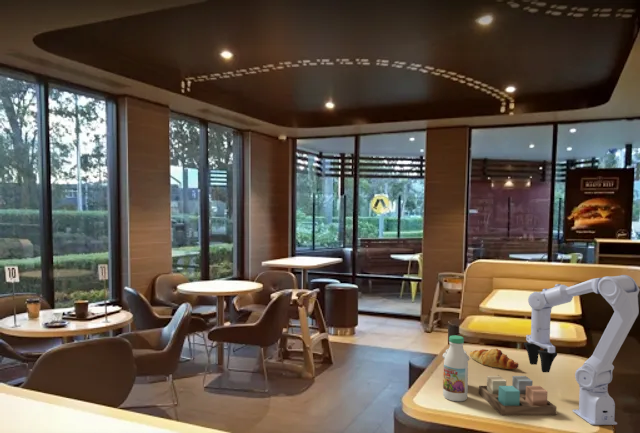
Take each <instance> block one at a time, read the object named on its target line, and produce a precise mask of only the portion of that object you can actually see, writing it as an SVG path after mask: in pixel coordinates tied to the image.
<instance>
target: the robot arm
mask: <svg viewBox="0 0 640 433" xmlns="http://www.w3.org/2000/svg"><path fill="white" fill-rule="evenodd" d="M636 282H637V281H636V280H635V279H634V278H633V277H631V276H630V275H627V274H621V275H615V276H611V275H610V276H603V277H597V278H596V277H595V278H590V279H588V280H586V281H583V282H580V283H577V284H574V285H571V286H567V285H566V284H561V283H556V284H554V287H552V288H551V287H550V288H543V289H542V291H534V292H532V293H531V294H529V296H528V299H527V301H528V304H529V306H530V308H531V318H530V319H531V321H530V322H531V323H530V324H531V326H530V330H531V331H530V334H526V335H525V337H526V338H525V340H526V342H523V346H524V348H525V350H526V352H527V356H528V360H529V364H530V365H534V366H537V365H538V362H539V358H540V367H541V372H542V373H550V371H551V368H552V364H553V362H554V360H555V359H556V358H557V355H558V352H557V351H556V346H555V345H553V344H552V342H551V339H550V338H551V313H552V310H553V308H554V307H557V306H560V305H564V304H567V303H571V302H572V301H573V298H574V297H576V296H577V297H578V296H581V295H585V294H590V293H595V294H597V295H598V294H600V295H601V296H602V298H603V299H605V301H606V302H607V303H608V304H609V305H610V306H611V307H612V309H613V311H614V312H613V314H612V316H611V318H610V320H609V322H608V323H607V325H606V328H605V329H604V331H603V333H602V335H601V337H600V339H599V341H598V343H597V345H596V347H595V349H594V351H593V353H592V355H591V356H590V357H589V358H588V359H586V360H585V361H584V363H583V364H582V366H580V367H578V368H577V369H576V370H575V373H574V376H575V377H574V378H575V381H576V382H577V384H578V387H579V393H578V394H579V395H578V396H579V397H578V409H572V412H573V413H574V414H576V415H577V416H579V417H580V418H582V420H584V421H586V423H589V424H590V425H592V426H603V425H604V426H606V425H607V426H612V425H613V426H615V425H618V422H617V421H615V418H616V417H615V415H616V414H615V413H616V412H615V411H616V403H615V401H614V399H613V397H611V396H610V394H609V391H608V387H609V386H608V385H609V384H610V383H611V382H612V380H613V370H614V369H615V366H614V365H613V362H614V360H615V359H616V356H617V355H618V353H619V351H620V349H621V347H622V345H623V344H624V342H625V340H626V338H627V336H628V334H629V332H630V330H631V329H632V327H633V325H634V323H635V321H636V319H637V318H638V316H639V297H638V296H639V292H640V287H639V286H638V284H637V283H636Z"/></svg>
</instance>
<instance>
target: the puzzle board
mask: <svg viewBox="0 0 640 433" xmlns="http://www.w3.org/2000/svg"><path fill="white" fill-rule="evenodd" d="M499 386H507V380H506V379H505V378H503V377H502V376H501V375H487V376H486V385H479V386H478V394H479V395H480V396H481V397H482V398H483V399H484V400H485V401H486V402H487V403H488V404H490V406H491V407H492V408H493V409H494V410H496V412H498V413H499V414H500V415H501V416H556V415H557V406H556V405H555V404H553V403H552V402H551V401H549V400H548V390H546V389H545V388H543V387H542V386H540V385H533V380H532V379H530V378H529V377H528V376H526V375H512V383H511V386H513V387H515V388H516V389H517V390H519V391H520V403H519V406H504V405H502V404H501V403H500V402H499V401H498V396H499Z"/></svg>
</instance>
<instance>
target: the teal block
mask: <svg viewBox="0 0 640 433" xmlns="http://www.w3.org/2000/svg"><path fill="white" fill-rule="evenodd" d="M498 401H499V402H500V403H501V404H502V405H504V406H519V403H520V391H519V390H517V389H516V388H515V387H513V386H512V385H506V386H499V396H498Z"/></svg>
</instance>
